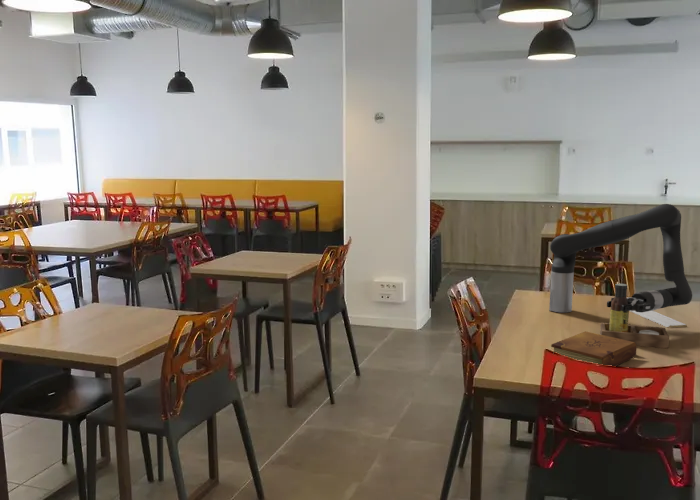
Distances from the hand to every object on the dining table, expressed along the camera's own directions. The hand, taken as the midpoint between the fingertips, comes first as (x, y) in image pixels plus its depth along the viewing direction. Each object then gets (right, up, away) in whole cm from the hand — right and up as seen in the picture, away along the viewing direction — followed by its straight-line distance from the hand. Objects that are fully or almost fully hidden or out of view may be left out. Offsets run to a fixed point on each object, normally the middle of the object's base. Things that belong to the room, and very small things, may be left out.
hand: (615, 306), depth 238 cm
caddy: (+7, -13, +2) cm, 15 cm away
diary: (-14, -17, -15) cm, 27 cm away
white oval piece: (+12, -13, 0) cm, 18 cm away
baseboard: (+30, -9, +36) cm, 48 cm away
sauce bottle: (+2, -12, +3) cm, 12 cm away
